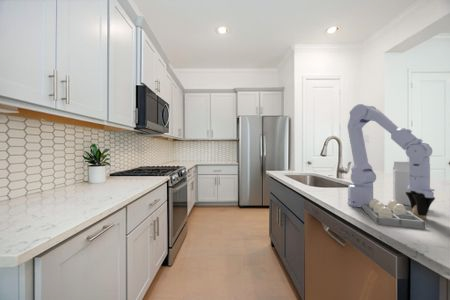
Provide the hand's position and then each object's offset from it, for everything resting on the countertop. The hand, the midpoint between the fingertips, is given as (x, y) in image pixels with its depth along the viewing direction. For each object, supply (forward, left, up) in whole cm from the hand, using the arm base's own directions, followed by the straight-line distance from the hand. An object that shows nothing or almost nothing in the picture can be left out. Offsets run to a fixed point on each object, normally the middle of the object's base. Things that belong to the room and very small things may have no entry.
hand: (419, 213), depth 79 cm
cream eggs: (-10, -3, -1) cm, 11 cm away
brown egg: (0, 0, -1) cm, 1 cm away
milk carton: (+3, +22, -2) cm, 22 cm away
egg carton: (-10, -3, -1) cm, 11 cm away
